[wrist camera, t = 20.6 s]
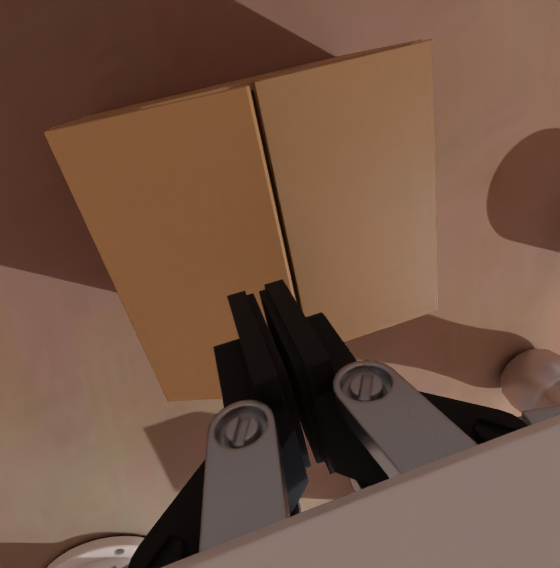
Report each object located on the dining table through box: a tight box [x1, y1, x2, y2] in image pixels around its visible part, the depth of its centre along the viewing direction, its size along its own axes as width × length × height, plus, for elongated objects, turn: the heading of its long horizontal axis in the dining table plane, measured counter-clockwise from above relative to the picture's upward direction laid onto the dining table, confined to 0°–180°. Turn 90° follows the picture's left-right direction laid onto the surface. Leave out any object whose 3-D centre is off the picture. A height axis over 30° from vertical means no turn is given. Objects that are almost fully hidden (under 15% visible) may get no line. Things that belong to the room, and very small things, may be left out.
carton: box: [49, 39, 438, 342], centre depth 22 cm, size 15×13×10 cm
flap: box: [44, 85, 296, 401], centre depth 16 cm, size 7×13×1 cm, turn 12°
